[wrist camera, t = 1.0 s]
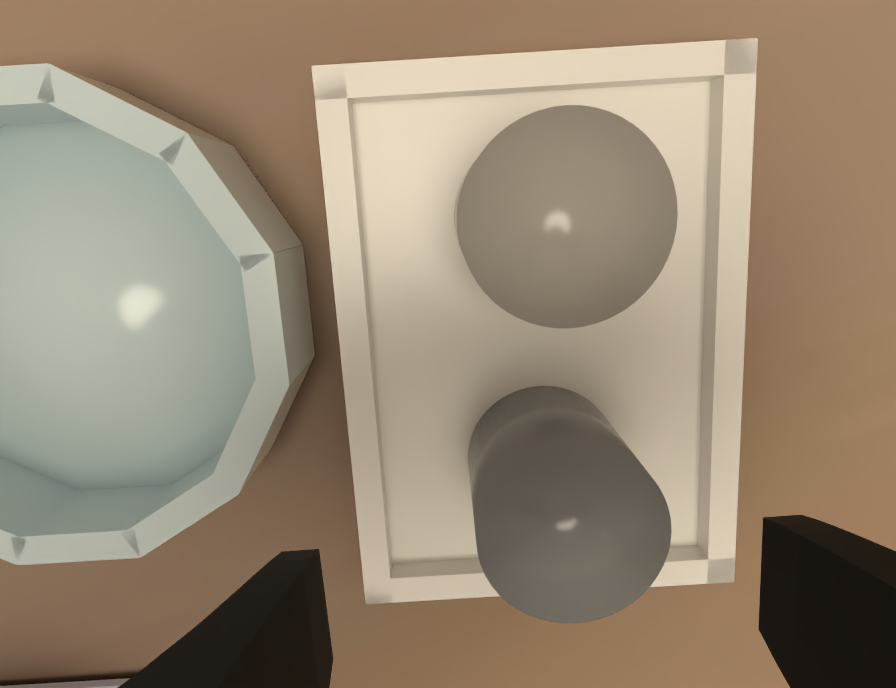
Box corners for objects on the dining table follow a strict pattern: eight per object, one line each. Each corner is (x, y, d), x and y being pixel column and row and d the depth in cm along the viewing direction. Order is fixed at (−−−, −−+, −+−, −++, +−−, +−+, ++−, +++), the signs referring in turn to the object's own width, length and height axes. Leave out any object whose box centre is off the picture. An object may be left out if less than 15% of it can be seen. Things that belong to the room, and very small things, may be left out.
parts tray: (713, 556, 20) (734, 581, 19) (370, 576, 20) (365, 604, 19) (731, 51, 17) (757, 37, 15) (321, 77, 17) (311, 65, 15)
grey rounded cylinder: (615, 291, 18) (675, 321, 13) (458, 301, 18) (464, 334, 13) (614, 127, 17) (680, 97, 12) (449, 137, 17) (452, 112, 12)
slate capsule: (615, 520, 19) (669, 617, 15) (471, 528, 19) (481, 628, 15) (615, 381, 18) (673, 439, 14) (463, 390, 18) (470, 451, 14)
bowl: (330, 492, 19) (308, 547, 16) (-56, 515, 19) (-152, 575, 16) (285, 79, 17) (249, 50, 14) (-161, 107, 17) (-299, 85, 14)
